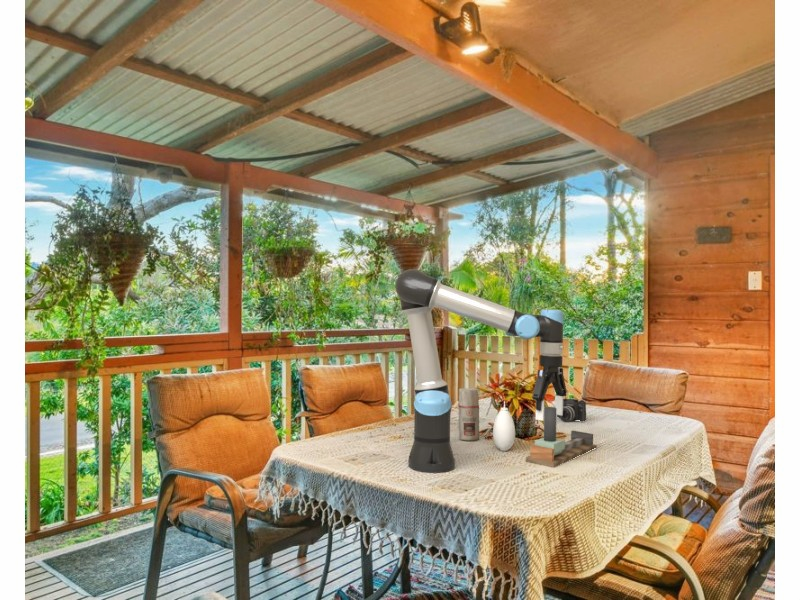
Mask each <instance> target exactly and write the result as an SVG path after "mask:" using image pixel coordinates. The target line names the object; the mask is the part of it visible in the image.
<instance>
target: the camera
mask: <svg viewBox="0 0 800 600" xmlns="http://www.w3.org/2000/svg"><path fill="white" fill-rule="evenodd" d="M557 417H559V418H558V419H560V420H561V421H563V422H572V421H573V420H580V421H585V420H586V421H587V403H586V401H585V400H583V399H580V400H579V399H578V398H567V397H566V396H564V398H563V415H562V416H561V415H556V418H557Z"/></svg>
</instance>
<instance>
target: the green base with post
mask: <svg viewBox="0 0 800 600" xmlns="http://www.w3.org/2000/svg"><path fill="white" fill-rule="evenodd" d="M565 442H566V440H565V439H561V438H557V415H556V408H555V406H544V421H543V437H540V438H538V439H535V440H534V445H537V446H542V447H547V448H552V449H554V455H556V454H559V453H561V452H562V450H564V449H565Z"/></svg>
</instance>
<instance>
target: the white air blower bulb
mask: <svg viewBox="0 0 800 600" xmlns="http://www.w3.org/2000/svg"><path fill="white" fill-rule="evenodd" d="M515 427H516V426H515V422H514V418H513V416H512V414H511V413H510V411H509V408H508V407H506V400H504V401H503V407H500V411H499V412H498V413H497V414H496V417H495V419H494V423H493V427H492V438H493V441H494V444H495V446H496V447H497V448H498V449H499V450H500V451H501V452H507V451H509V449H510V448H512V447H513V445H514V443H515V439H516V428H515Z"/></svg>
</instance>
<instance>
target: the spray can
mask: <svg viewBox="0 0 800 600" xmlns="http://www.w3.org/2000/svg"><path fill="white" fill-rule="evenodd" d="M458 436H459V437H458V439H459V440H461V441H478V440H479V439H480V404H479V389H477V388H467V387H465V388H459V391H458Z"/></svg>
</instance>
